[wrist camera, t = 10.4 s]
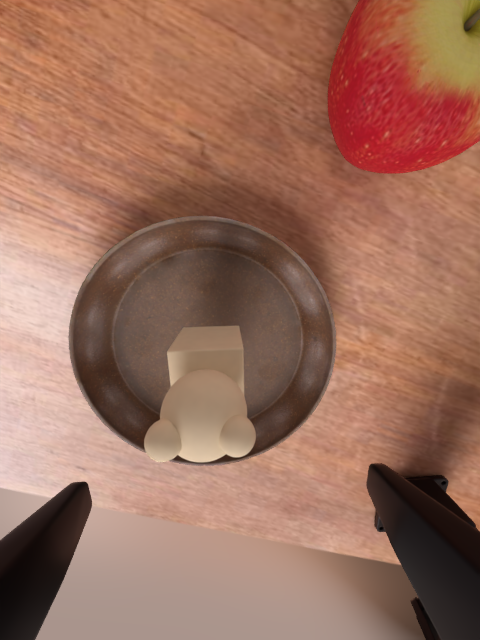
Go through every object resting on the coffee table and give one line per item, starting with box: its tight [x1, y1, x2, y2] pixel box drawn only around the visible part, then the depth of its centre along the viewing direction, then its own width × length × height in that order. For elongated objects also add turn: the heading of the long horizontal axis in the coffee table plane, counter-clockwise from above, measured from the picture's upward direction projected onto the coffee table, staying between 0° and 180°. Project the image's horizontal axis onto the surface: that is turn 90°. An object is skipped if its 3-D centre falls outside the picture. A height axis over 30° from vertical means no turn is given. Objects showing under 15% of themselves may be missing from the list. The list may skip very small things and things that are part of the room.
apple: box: [328, 0, 480, 173], centre depth 10 cm, size 8×8×10 cm
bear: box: [144, 326, 256, 462], centre depth 11 cm, size 4×4×8 cm
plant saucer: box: [69, 216, 336, 466], centre depth 17 cm, size 18×18×3 cm
